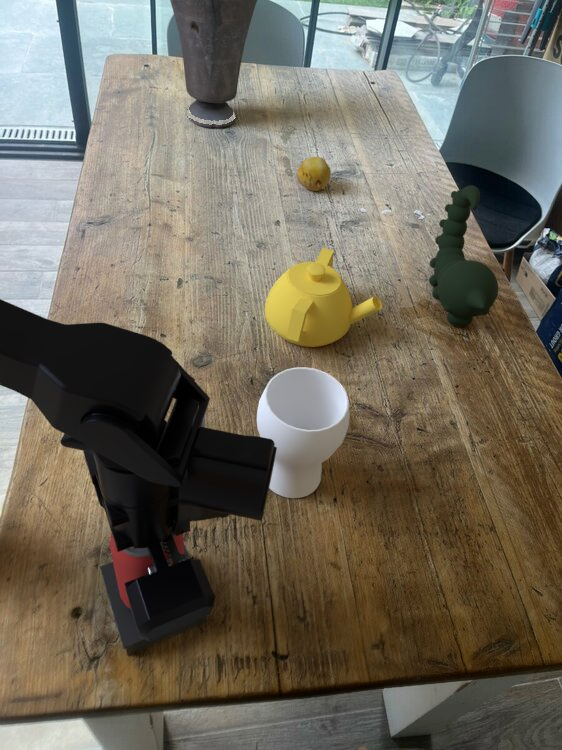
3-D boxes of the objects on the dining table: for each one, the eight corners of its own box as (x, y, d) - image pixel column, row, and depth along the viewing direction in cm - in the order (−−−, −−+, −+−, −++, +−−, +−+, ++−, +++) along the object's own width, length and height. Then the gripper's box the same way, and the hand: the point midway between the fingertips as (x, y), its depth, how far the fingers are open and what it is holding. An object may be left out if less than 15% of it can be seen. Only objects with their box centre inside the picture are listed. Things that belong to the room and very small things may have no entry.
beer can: (106, 600, 58) (91, 542, 50) (141, 545, 63) (133, 483, 54) (163, 628, 57) (159, 574, 48) (195, 570, 61) (196, 511, 53)
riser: (126, 658, 58) (123, 648, 56) (103, 579, 64) (99, 566, 61) (210, 622, 62) (210, 610, 59) (181, 549, 67) (181, 535, 65)
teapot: (360, 382, 88) (376, 329, 80) (246, 349, 90) (250, 294, 82) (382, 304, 101) (398, 251, 93) (283, 277, 104) (289, 223, 96)
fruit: (339, 175, 119) (331, 151, 126) (308, 166, 117) (302, 142, 124) (326, 203, 124) (319, 179, 131) (296, 195, 122) (290, 171, 128)
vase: (228, 145, 136) (233, -3, 114) (149, 120, 141) (140, -27, 119) (269, 113, 150) (280, -24, 128) (196, 91, 155) (195, -44, 133)
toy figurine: (412, 266, 113) (437, 347, 94) (440, 171, 100) (475, 242, 82) (460, 270, 113) (494, 352, 95) (493, 176, 101) (540, 249, 82)
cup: (291, 427, 81) (305, 350, 70) (348, 476, 76) (373, 402, 65) (233, 469, 75) (239, 392, 64) (292, 525, 70) (308, 453, 60)
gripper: (283, 541, 43) (265, 620, 54) (194, 367, 53) (195, 464, 65) (133, 601, 39) (147, 673, 50) (70, 400, 49) (94, 497, 61)
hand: (150, 564), depth 56 cm, fingers closed on beer can, 6 cm apart
